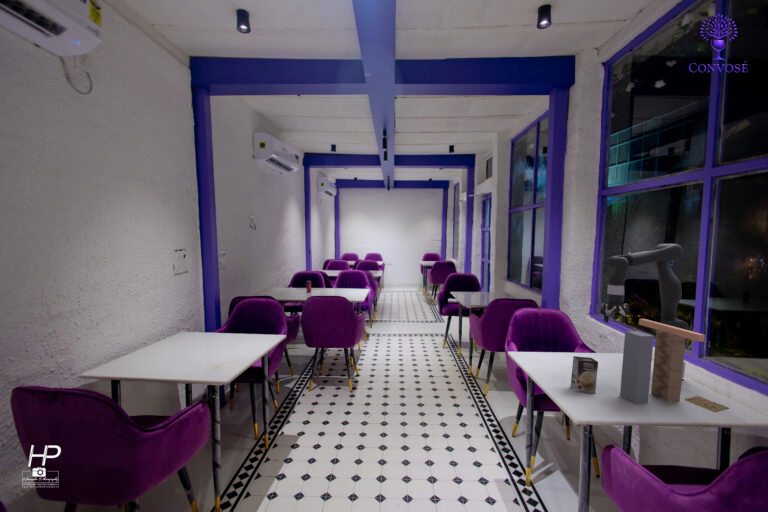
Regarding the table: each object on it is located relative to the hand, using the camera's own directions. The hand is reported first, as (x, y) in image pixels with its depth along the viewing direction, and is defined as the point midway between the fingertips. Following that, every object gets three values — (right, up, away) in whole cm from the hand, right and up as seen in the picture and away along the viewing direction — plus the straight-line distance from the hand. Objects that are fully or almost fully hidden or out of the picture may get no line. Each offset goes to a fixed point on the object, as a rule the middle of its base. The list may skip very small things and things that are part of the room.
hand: (614, 322), depth 179 cm
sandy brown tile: (+25, -34, -26) cm, 49 cm away
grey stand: (-8, -32, -24) cm, 41 cm away
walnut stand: (+10, -32, -21) cm, 40 cm away
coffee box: (-27, -31, -16) cm, 44 cm away
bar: (+11, 0, -22) cm, 24 cm away
